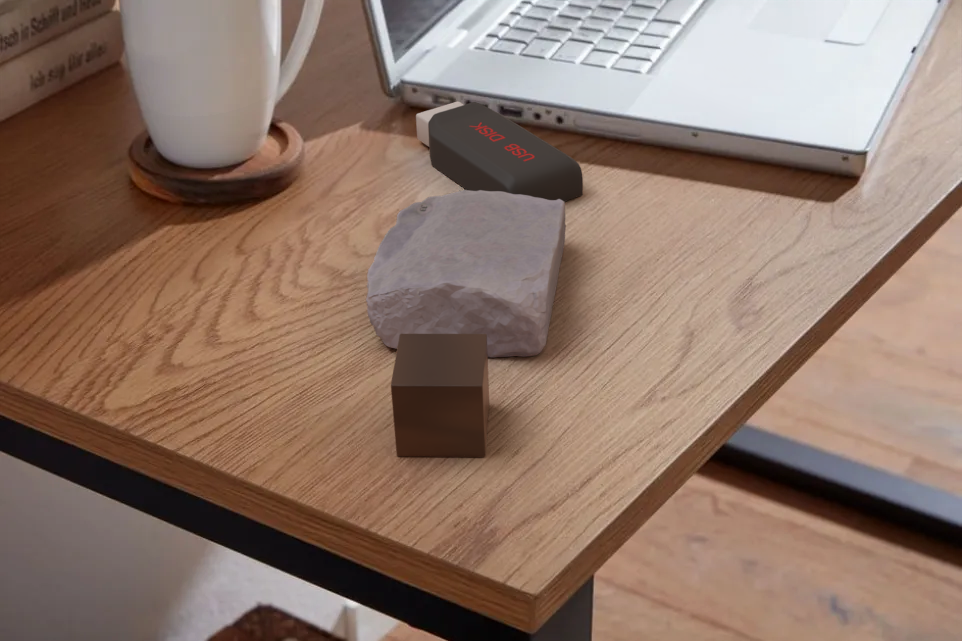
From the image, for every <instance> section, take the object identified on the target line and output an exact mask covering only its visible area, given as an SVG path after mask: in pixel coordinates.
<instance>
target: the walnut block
mask: <svg viewBox="0 0 962 641" xmlns="http://www.w3.org/2000/svg"><path fill="white" fill-rule="evenodd" d="M489 382H490V381H489V357H488V351H487V334H400V336H399V341H398V347H397V349H396V354H395V359H394V365H393V371H392V377H391V381H390V394H391V406H392V417H393V429H394V439H395V454H396V457H434V458H435V457H438V458H439V457H443V458H444V457H448V458H449V457H450V458H453V457H454V458H459V457H460V458H485V457H486V455H487V454H486V453H487V439H488V427H489V411H490V387H489V386H490V384H489Z"/></svg>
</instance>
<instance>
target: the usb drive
mask: <svg viewBox="0 0 962 641" xmlns="http://www.w3.org/2000/svg"><path fill="white" fill-rule="evenodd" d="M415 122H416V123H415V124H416V138H417V140H418V141H420V142H421V143H423V144H424V145H425V146H427V147H428V148H429V149H428V150H429V159H430V165H431V166H432V167H433V168H435V169H436V170H437V171H438V172H440V173H442V174H443V175H444V176H446V177H447V178H449V179H450V180H451V181H453V182H454V183H456V184H457V185H459V186H460V187H462V188H463V189H464V190H469V191H479V190H482V191H501V192H506V193H511V194H521V195H527V196H532V197H537V198H543V199H547V200H558V199H560V200H562V201H564V202H567V201H569V200H572V199H575V198H578V197H581V196H583V194H584V178H583V170H582V167H581V165H580V164H579V163H578V162H577V160H575V159H574V158H573V157H571V156H570V155H568V154H567V153H565V152H563V151H562V150H560V149H558V148H557V147H555V146H553V145H552V144H550V143H549V142H547V141H545V140H543V139H542V138H540V137H539V136H537V135H535V134H534V133H533V132H530V131H529V130H527V129H526V128H524V127H522V126H521V125H519V124H517V123H516V122H515V121H512V120H511V119H509V118H508V117H506V116H504V115H503V114H501V113H499V112H497V111H495V110H493V109H491V108H490V107H487V106H485V105H483V104H481V103H479V102H477V101H473V102H469V103H465V104H463V103H462V102H460V101H459V100H457V101H455V102H451V103H448V104H444V105H441V106H438V107H435V108H434V107H433V108H431V109H428V110H425V111H421V112H418V113H416V115H415Z"/></svg>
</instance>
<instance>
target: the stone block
mask: <svg viewBox="0 0 962 641" xmlns="http://www.w3.org/2000/svg"><path fill="white" fill-rule="evenodd" d="M565 202H566V201H562V200H560V199H558V200H547V199H543V198H537V197H532V196H527V195H521V194H511V193H506V192H501V191H482V190H479V191H469V190H466V189H463V190H458V191H454V192H450V193H447V194H444V195H433V196H432V195H431V196H428V197H426V198H425V199H424V200H422V201H416V202H413V203H411V204H410V205H408V206H406V207H405V208H403V209H401V210H399V212H398V213H397V215H396V222H395V225H393V226H392V227H390V228H389V230H387V232H386V234H385V235H384V236H383V239H382V241H381V242H380V243H379V246H378V248H377V250H376V252H375V255H374V257H373V262H372V263H371V265H370V267H369V268H368V269H367V274H366V278H367V282H366V289H367V294H366V298H365V302H366V307H367V309H366V311H367V317H368V319H369V323H370V324H371V326H372V327H373V330H374V332H375V334H376V335H377V337H379V338H380V340H381V341H382V343H383V345H384V346H386V347H388V348H392V349H396V350H397V347H398V341H399V336H400V334H487V351H488V358H499V357H500V358H501V357H502V358H503V357H504V358H505V357H507V358H509V357H533V356H537V355H539V354H540V353H542V352H543V349H544V348H545V347H546V345H547V339H548V335H549V329H550V322H551V318H552V313H553V306H554V301H555V297H556V291H557V286H558V281H559V280H558V279H559V273H560V269H561V264H562V259H563V254H564V248H565V242H566V241H565V240H566V227H567V225H566V203H565Z"/></svg>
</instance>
